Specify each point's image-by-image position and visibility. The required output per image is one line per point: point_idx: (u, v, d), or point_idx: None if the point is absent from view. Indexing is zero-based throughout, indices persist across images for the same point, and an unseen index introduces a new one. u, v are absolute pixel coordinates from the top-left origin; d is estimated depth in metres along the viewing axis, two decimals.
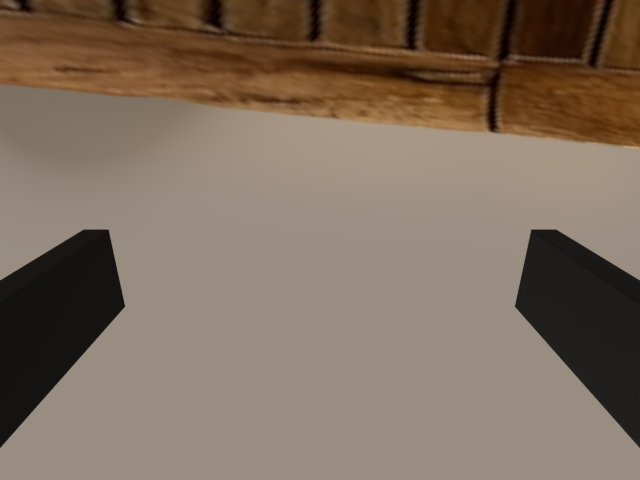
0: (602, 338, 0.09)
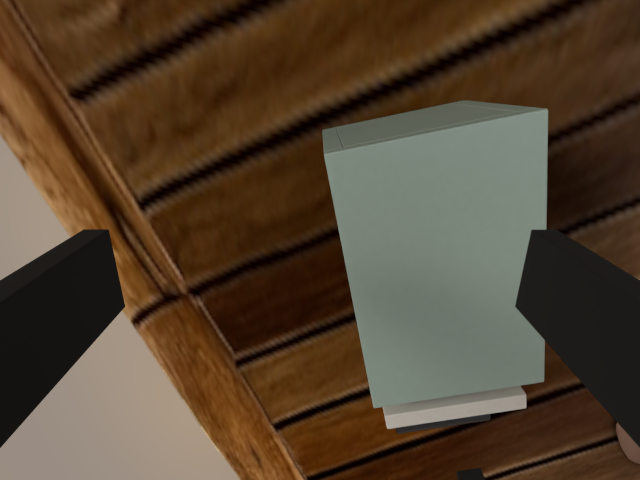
0: (602, 338, 0.09)
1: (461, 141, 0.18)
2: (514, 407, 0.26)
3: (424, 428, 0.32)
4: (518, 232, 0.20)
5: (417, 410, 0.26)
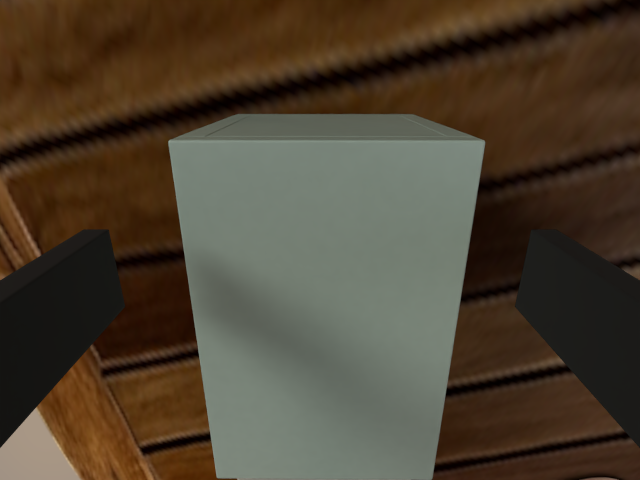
0: (602, 338, 0.09)
1: (362, 161, 0.13)
2: None
3: None
4: (424, 296, 0.15)
5: None
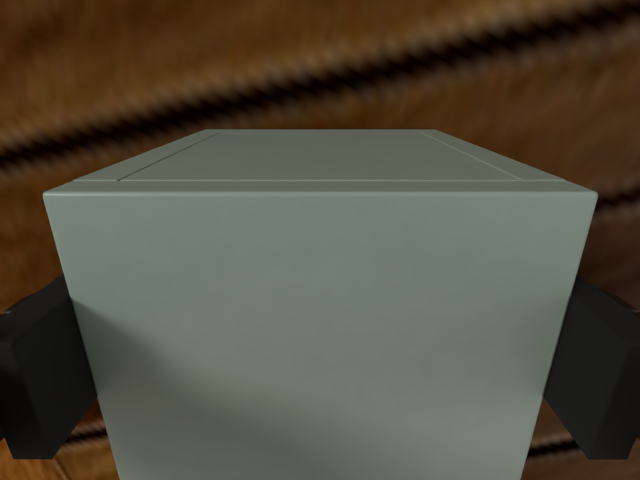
0: None
1: (383, 227, 0.07)
2: None
3: None
4: (477, 428, 0.09)
5: None
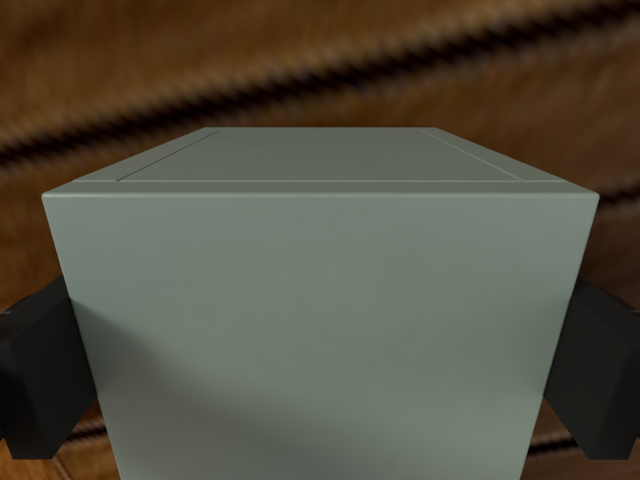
0: None
1: (383, 228, 0.07)
2: None
3: None
4: (477, 428, 0.09)
5: None
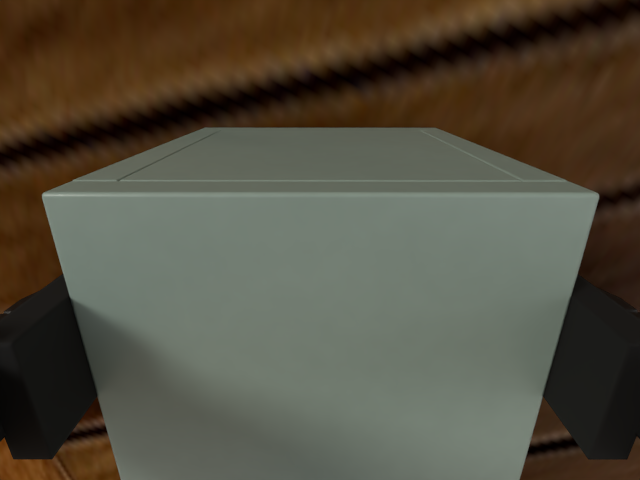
0: None
1: (384, 228, 0.07)
2: None
3: None
4: (476, 428, 0.09)
5: None
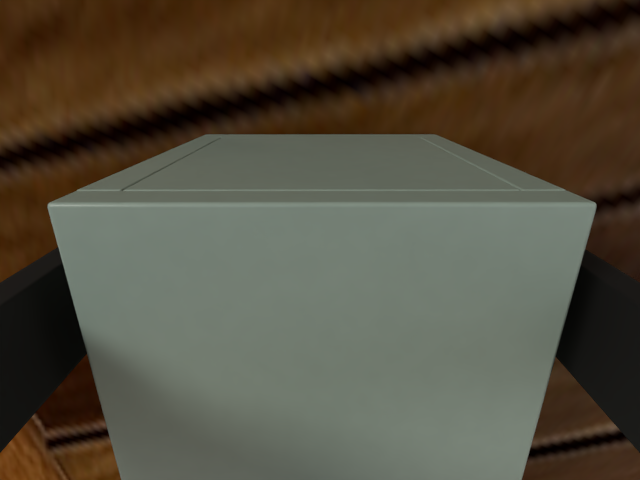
0: (596, 336, 0.09)
1: (384, 237, 0.08)
2: None
3: None
4: (477, 434, 0.09)
5: None
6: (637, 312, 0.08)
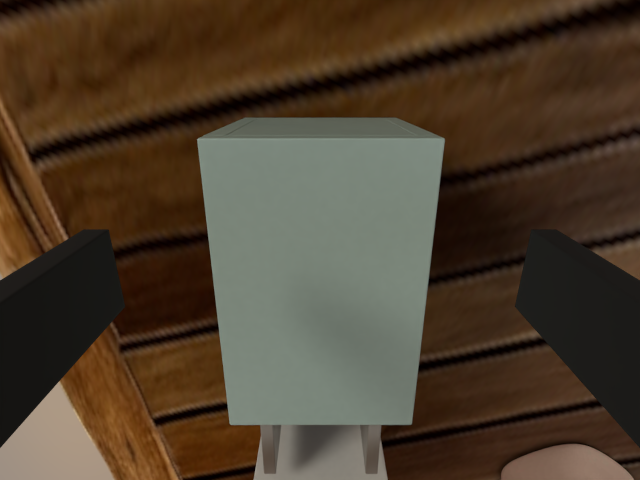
0: (602, 338, 0.09)
1: (349, 154, 0.17)
2: None
3: None
4: (401, 264, 0.18)
5: None
6: None
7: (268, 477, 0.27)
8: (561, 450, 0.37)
